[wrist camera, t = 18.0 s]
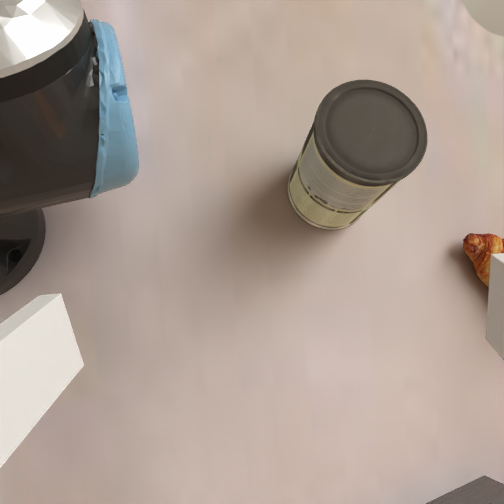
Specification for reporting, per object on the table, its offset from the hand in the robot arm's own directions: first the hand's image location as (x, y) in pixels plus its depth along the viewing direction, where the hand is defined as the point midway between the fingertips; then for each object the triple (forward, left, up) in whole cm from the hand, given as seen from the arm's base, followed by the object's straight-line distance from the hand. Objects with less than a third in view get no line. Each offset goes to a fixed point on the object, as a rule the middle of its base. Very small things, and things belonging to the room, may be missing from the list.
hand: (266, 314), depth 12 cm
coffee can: (+17, +13, -32) cm, 39 cm away
